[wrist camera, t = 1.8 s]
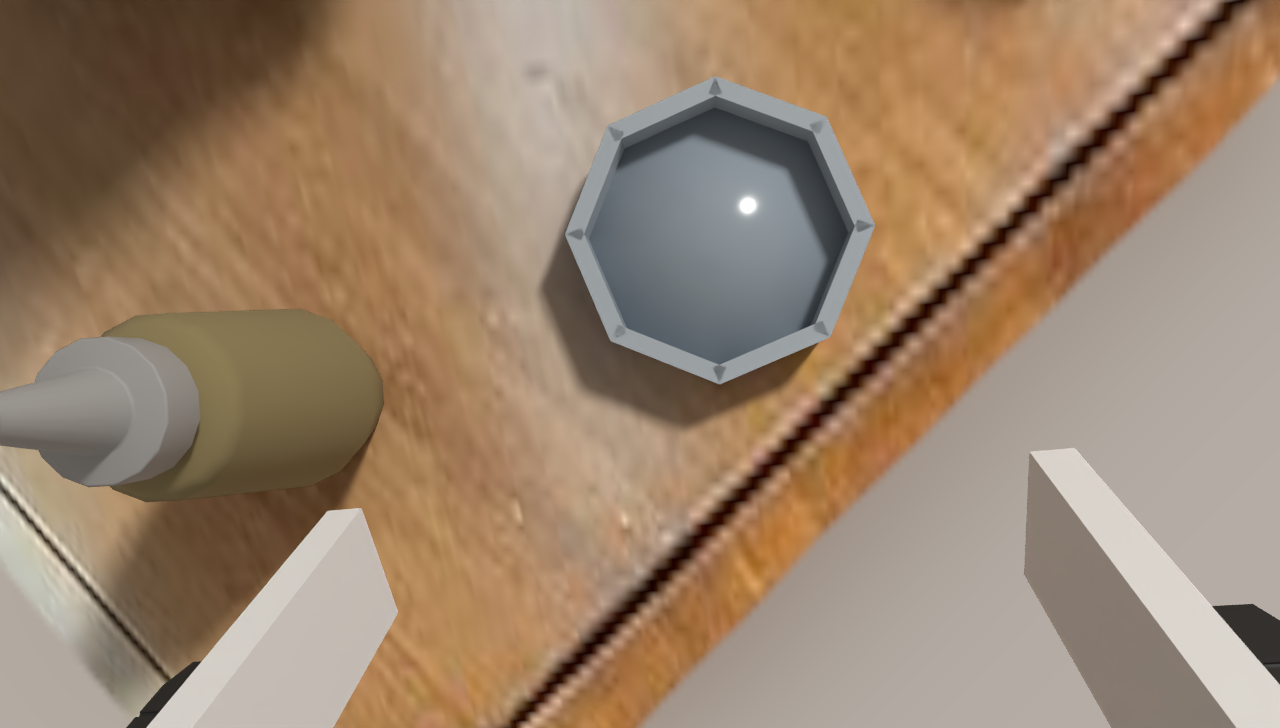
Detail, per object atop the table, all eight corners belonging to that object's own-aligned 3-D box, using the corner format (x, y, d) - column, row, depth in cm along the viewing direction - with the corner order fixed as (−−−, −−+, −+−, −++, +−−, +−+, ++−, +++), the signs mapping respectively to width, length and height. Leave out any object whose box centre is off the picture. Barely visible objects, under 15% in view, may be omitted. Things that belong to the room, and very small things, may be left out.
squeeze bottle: (396, 488, 37) (107, 600, 19) (241, 464, 38) (-180, 552, 20) (417, 324, 37) (148, 283, 19) (262, 304, 38) (-141, 245, 20)
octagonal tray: (546, 315, 36) (534, 310, 34) (642, 70, 36) (637, 48, 34) (791, 412, 35) (798, 415, 33) (892, 161, 35) (907, 146, 33)
